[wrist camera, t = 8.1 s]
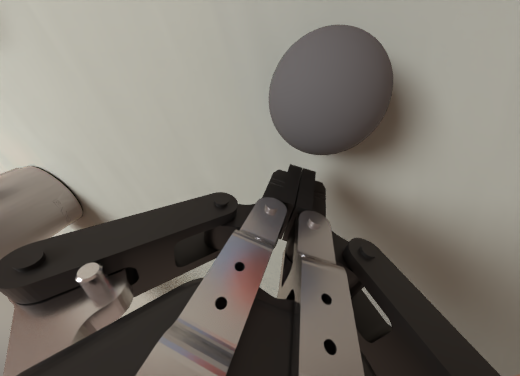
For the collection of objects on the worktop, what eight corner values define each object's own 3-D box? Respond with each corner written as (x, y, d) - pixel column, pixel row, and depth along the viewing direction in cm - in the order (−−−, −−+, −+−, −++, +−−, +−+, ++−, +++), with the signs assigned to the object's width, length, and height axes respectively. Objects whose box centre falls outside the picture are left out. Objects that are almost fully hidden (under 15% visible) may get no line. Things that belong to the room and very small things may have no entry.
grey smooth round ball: (246, 63, 6) (301, -18, 8) (252, 153, 12) (285, 90, 13) (420, 116, 6) (436, 13, 7) (343, 187, 11) (364, 115, 13)
